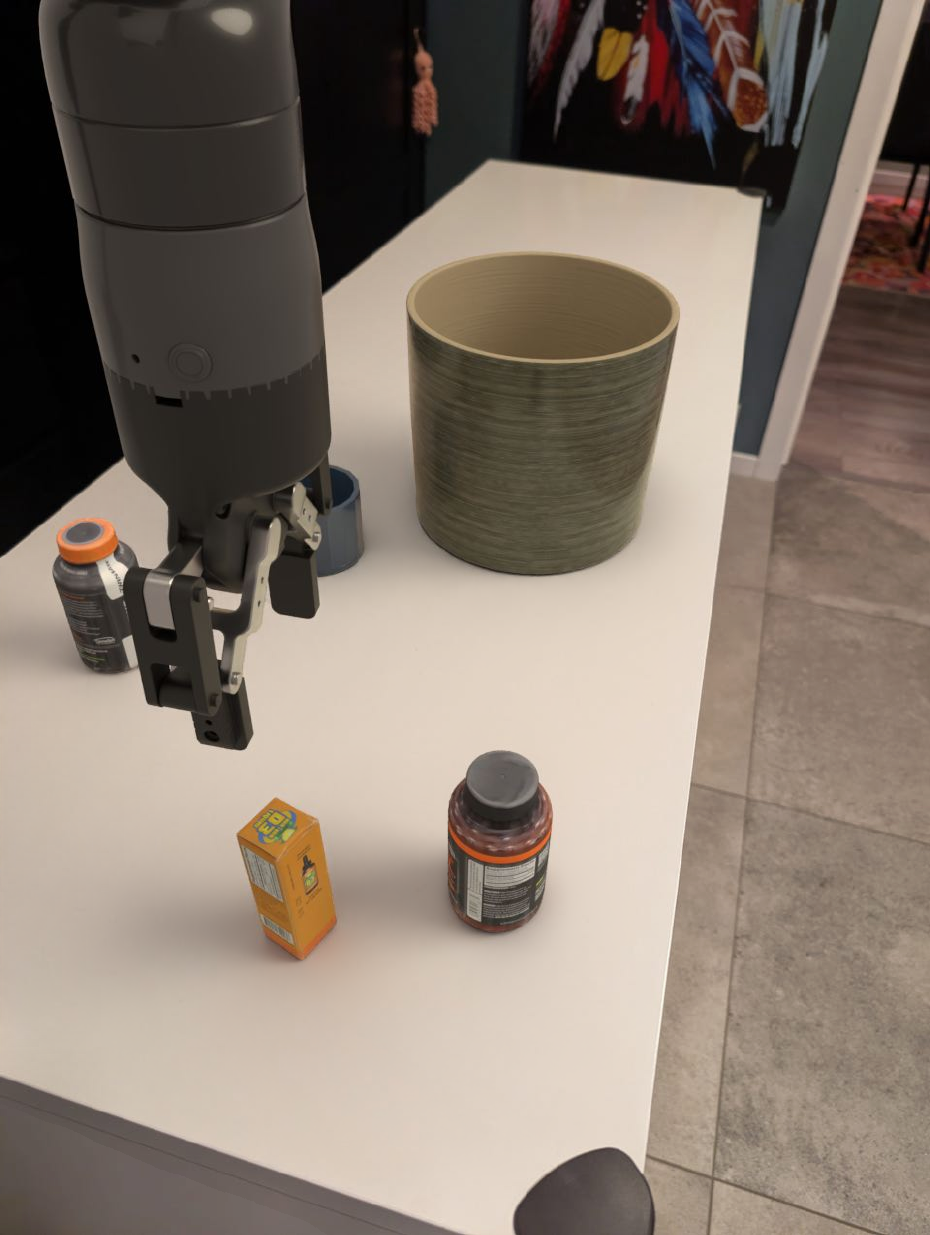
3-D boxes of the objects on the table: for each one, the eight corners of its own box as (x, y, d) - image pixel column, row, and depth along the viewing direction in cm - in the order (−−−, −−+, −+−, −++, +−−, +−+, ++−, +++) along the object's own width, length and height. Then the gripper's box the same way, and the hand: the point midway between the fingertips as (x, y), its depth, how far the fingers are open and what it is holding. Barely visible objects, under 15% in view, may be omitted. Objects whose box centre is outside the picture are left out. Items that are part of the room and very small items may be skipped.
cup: (262, 569, 83) (252, 507, 79) (293, 519, 89) (285, 458, 85) (348, 582, 82) (343, 520, 78) (374, 530, 88) (370, 470, 84)
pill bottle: (170, 656, 75) (140, 539, 67) (94, 686, 72) (54, 567, 65) (143, 614, 78) (111, 499, 71) (70, 641, 76) (29, 524, 68)
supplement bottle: (449, 851, 62) (450, 732, 54) (542, 854, 61) (555, 735, 54) (445, 935, 57) (445, 818, 50) (545, 939, 57) (560, 821, 50)
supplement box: (296, 894, 59) (278, 790, 52) (339, 923, 58) (325, 820, 51) (257, 933, 57) (233, 831, 50) (301, 965, 55) (281, 863, 49)
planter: (371, 544, 86) (358, 331, 73) (462, 429, 102) (465, 236, 89) (610, 605, 80) (643, 385, 67) (668, 473, 96) (704, 274, 83)
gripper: (197, 246, 38) (245, 566, 49) (-8, 416, 28) (110, 777, 38) (377, 267, 37) (387, 589, 48) (235, 451, 27) (288, 812, 37)
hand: (263, 672), depth 43 cm, fingers open, 8 cm apart
